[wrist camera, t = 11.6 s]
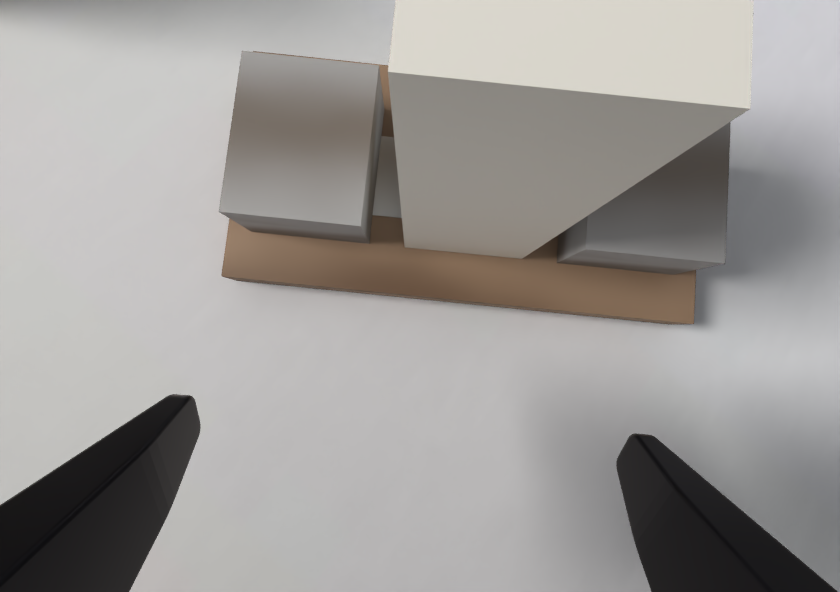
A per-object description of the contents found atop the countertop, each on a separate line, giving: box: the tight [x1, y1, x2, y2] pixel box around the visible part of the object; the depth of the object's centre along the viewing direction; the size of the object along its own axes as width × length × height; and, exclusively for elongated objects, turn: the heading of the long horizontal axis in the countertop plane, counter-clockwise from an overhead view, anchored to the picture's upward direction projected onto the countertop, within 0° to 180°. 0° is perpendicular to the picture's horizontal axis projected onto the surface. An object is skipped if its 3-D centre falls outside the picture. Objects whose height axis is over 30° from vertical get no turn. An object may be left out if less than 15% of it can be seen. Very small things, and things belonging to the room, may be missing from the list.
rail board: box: [219, 51, 730, 324], centre depth 17 cm, size 10×20×4 cm, turn 84°
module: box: [388, 0, 753, 259], centre depth 12 cm, size 6×5×12 cm
